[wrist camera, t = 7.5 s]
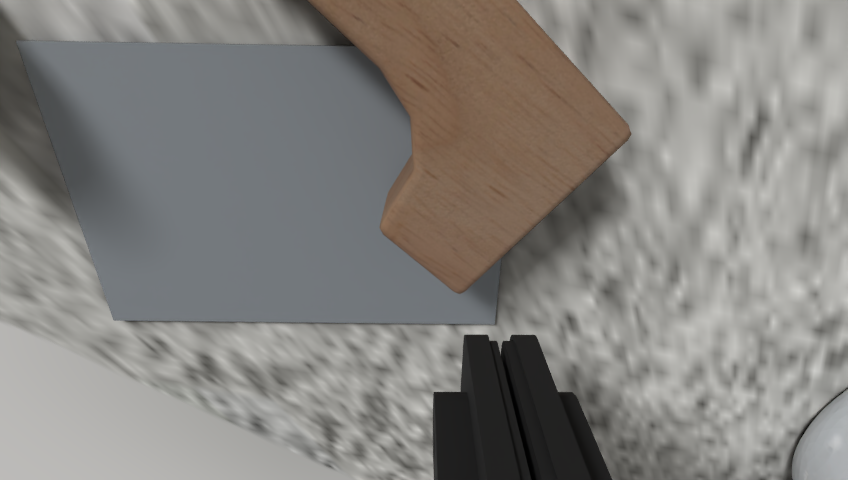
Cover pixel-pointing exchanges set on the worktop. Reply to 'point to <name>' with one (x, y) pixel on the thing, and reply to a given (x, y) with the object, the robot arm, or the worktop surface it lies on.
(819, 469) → the teapot
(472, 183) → the wooden block
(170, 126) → the rubber mat
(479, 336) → the robot arm
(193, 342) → the worktop surface
